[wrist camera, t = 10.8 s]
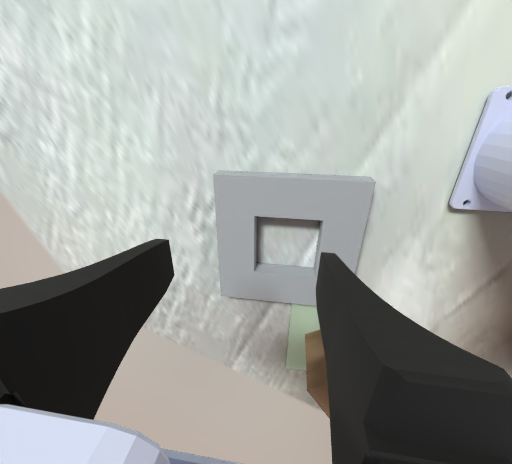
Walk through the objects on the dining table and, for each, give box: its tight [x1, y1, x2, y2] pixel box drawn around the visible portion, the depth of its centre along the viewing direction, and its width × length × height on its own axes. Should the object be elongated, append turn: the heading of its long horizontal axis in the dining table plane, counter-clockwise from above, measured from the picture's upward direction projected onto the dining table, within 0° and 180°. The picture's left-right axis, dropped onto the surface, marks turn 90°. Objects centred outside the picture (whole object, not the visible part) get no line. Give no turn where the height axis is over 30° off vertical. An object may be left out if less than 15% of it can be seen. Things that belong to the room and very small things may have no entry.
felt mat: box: [286, 304, 320, 371], centre depth 27 cm, size 10×10×1 cm
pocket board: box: [213, 171, 376, 306], centre depth 22 cm, size 12×12×2 cm
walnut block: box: [305, 330, 330, 418], centre depth 24 cm, size 4×4×6 cm
